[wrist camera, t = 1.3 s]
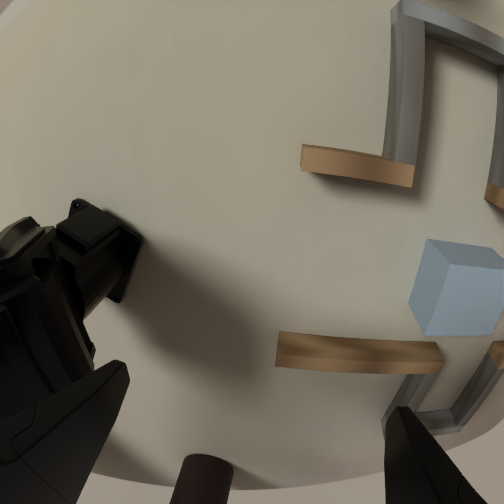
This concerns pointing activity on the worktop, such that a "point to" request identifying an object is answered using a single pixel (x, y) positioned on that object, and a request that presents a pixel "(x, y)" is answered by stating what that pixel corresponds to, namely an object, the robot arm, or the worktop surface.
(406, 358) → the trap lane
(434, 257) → the block
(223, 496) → the vinegar
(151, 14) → the worktop surface
